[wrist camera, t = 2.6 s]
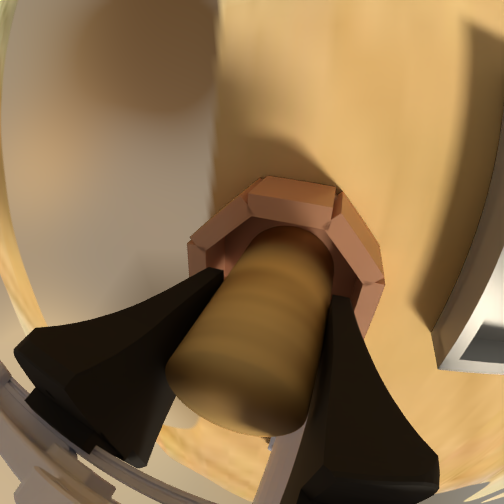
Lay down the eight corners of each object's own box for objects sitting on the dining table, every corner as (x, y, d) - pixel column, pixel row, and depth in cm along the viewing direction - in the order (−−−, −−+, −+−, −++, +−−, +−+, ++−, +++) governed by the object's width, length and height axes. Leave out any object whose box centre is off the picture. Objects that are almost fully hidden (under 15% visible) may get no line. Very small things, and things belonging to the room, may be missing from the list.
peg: (324, 312, 13) (293, 447, 8) (243, 293, 14) (176, 410, 8) (342, 235, 11) (324, 378, 6) (247, 218, 12) (153, 329, 6)
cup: (351, 338, 14) (347, 374, 12) (214, 306, 16) (194, 336, 14) (393, 199, 10) (404, 223, 8) (213, 168, 12) (184, 184, 10)
